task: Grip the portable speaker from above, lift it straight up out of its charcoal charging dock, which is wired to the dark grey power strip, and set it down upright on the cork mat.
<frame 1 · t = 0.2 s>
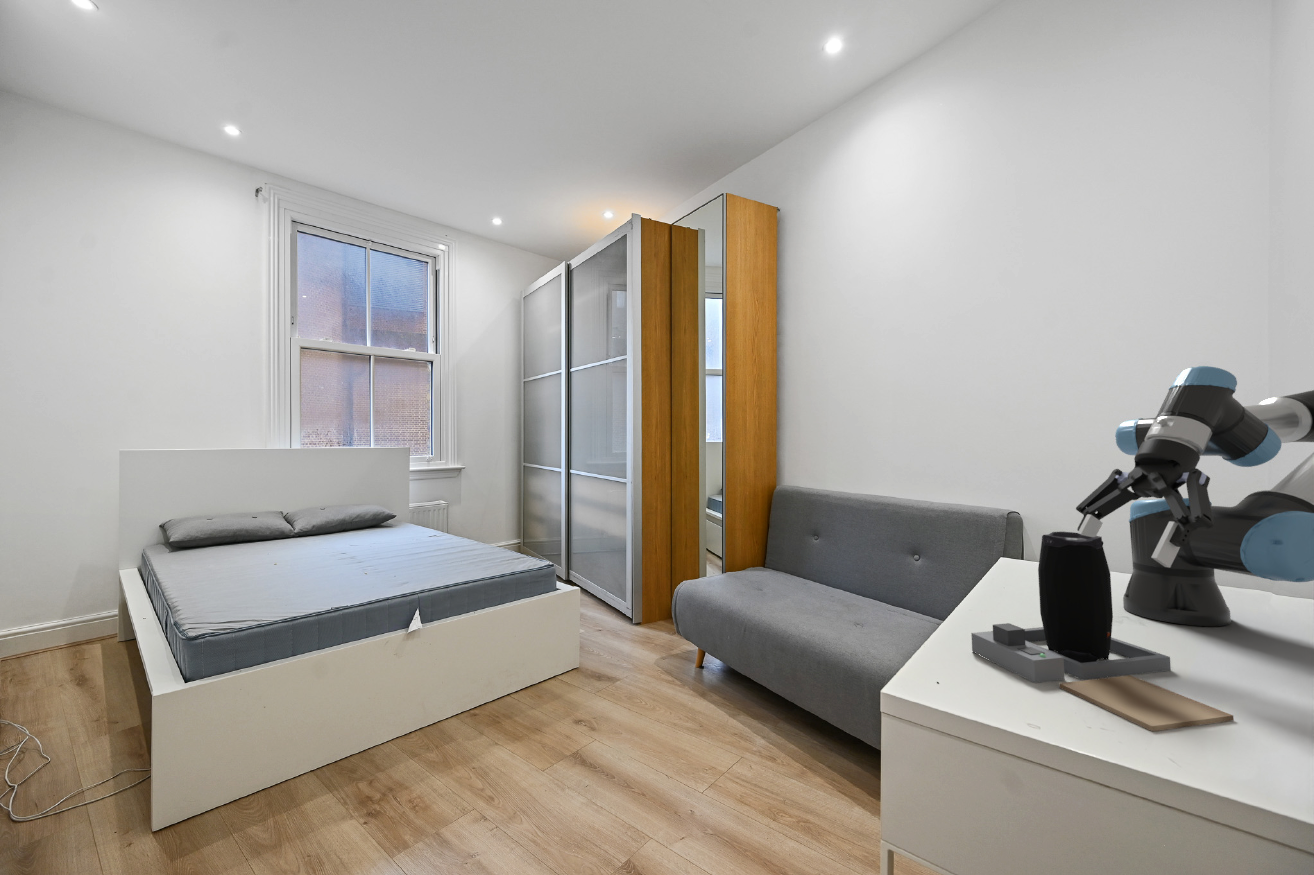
hand: (1116, 555, 87), 16 cm above the table, tool tilted 35°, fingers open, 13 cm apart
portable speaker: (1077, 657, 85), on the table
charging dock: (1077, 655, 85), on the table
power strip: (1015, 665, 82), on the table
cork mat: (1140, 702, 69), on the table
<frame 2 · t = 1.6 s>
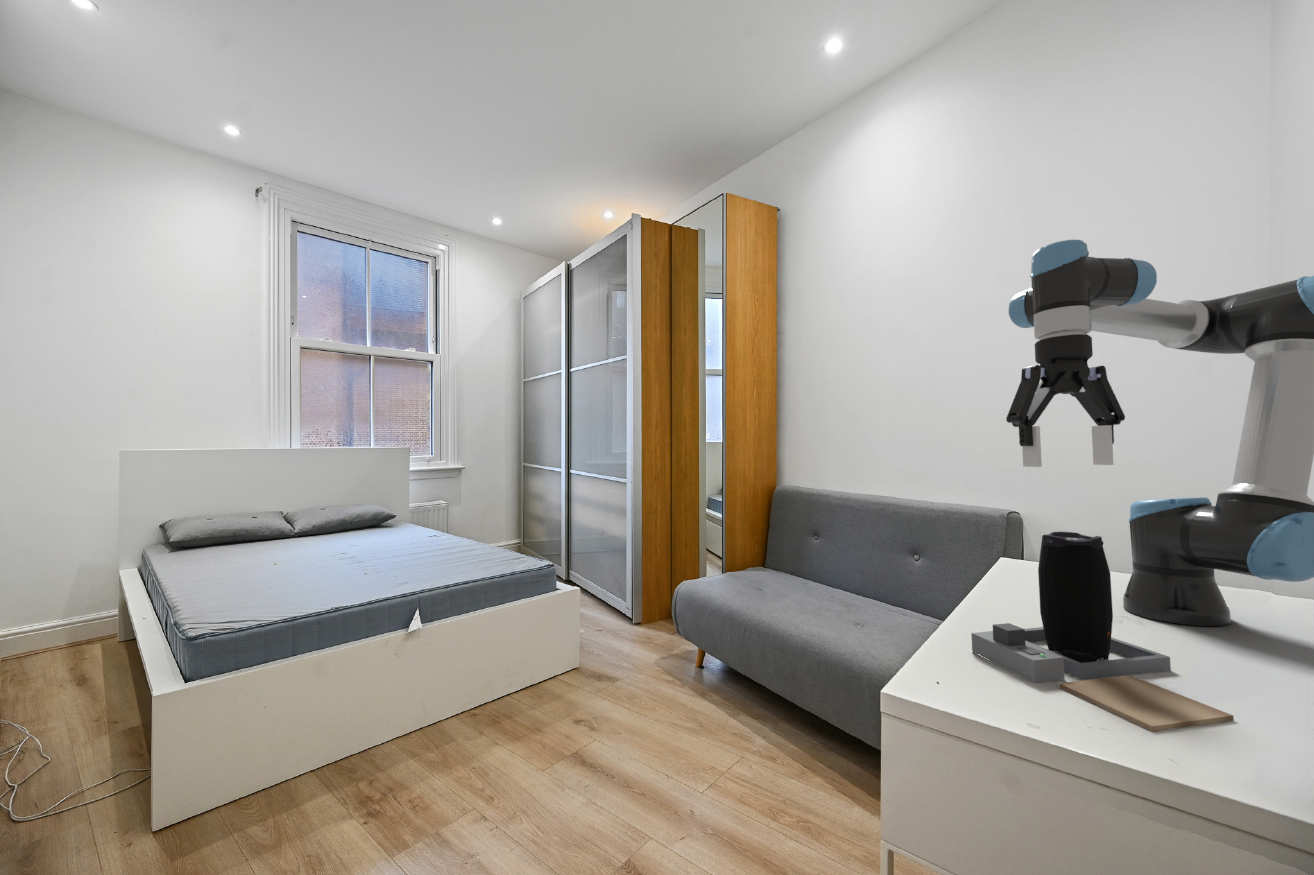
hand: (1068, 465, 86), 31 cm above the table, tool pointing down, fingers open, 13 cm apart
nothing on the table moved.
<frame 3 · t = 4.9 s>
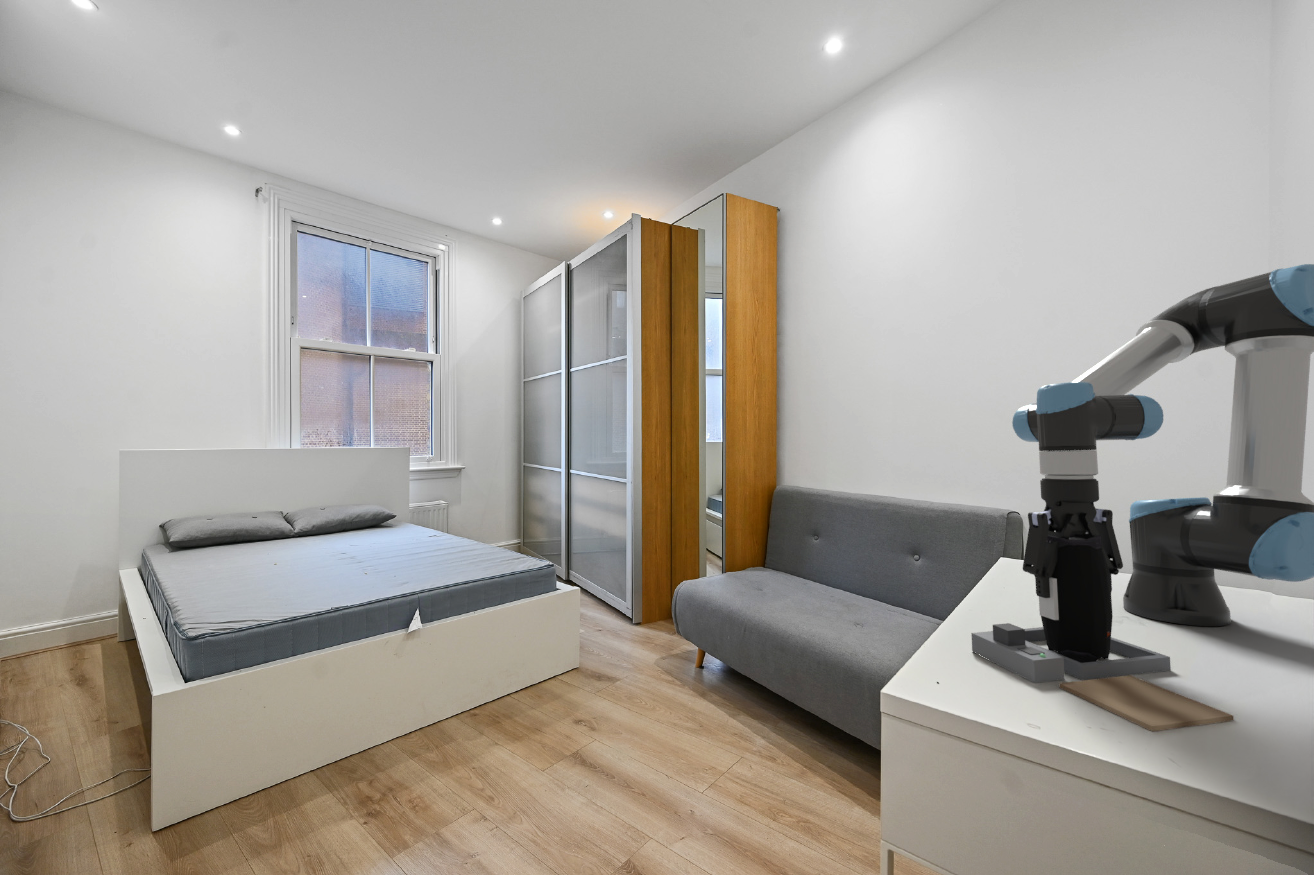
hand: (1075, 615, 85), 7 cm above the table, tool pointing down, fingers closed on portable speaker, 9 cm apart
portable speaker: (1077, 656, 85), on the table, touching gripper
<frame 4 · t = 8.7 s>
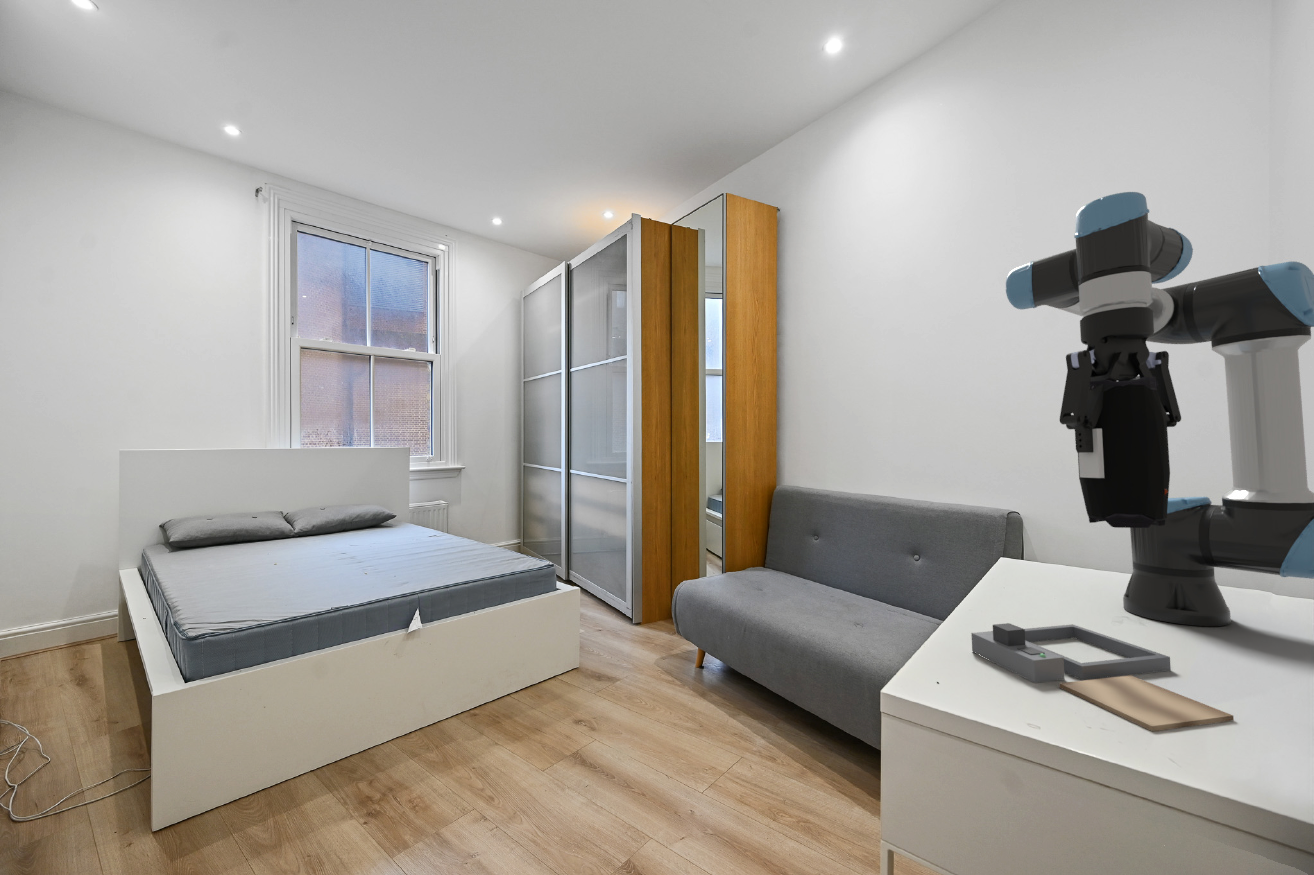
hand: (1123, 476, 71), 30 cm above the table, tool pointing down, fingers closed on portable speaker, 9 cm apart
portable speaker: (1125, 526, 71), point 23 cm above the table, touching gripper
when the fingers open (8 cm above the table, at t = 12.5 s): portable speaker drops 1 cm, resting on cork mat.
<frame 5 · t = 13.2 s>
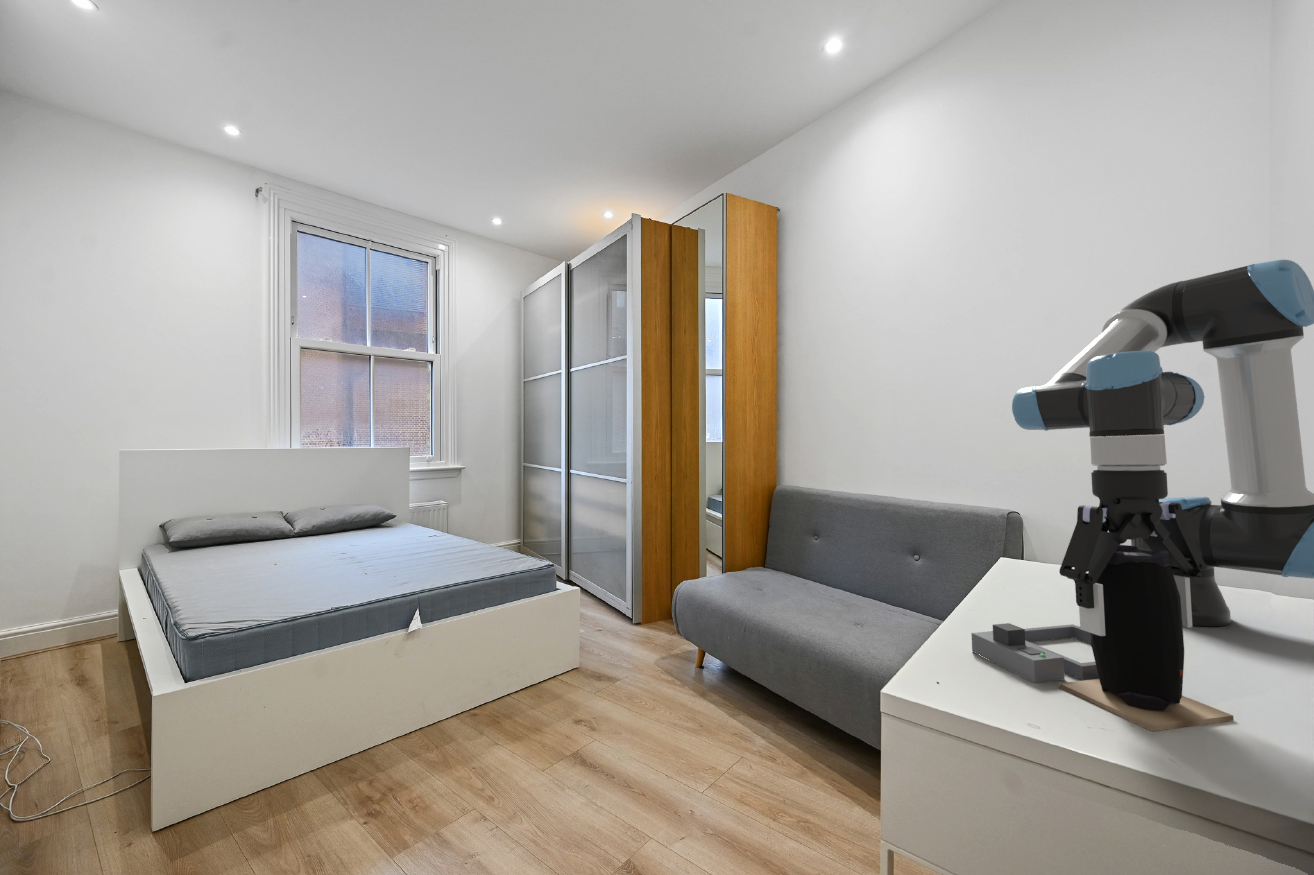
hand: (1136, 628, 69), 10 cm above the table, tool pointing down, fingers open, 13 cm apart
portable speaker: (1139, 699, 69), resting on cork mat
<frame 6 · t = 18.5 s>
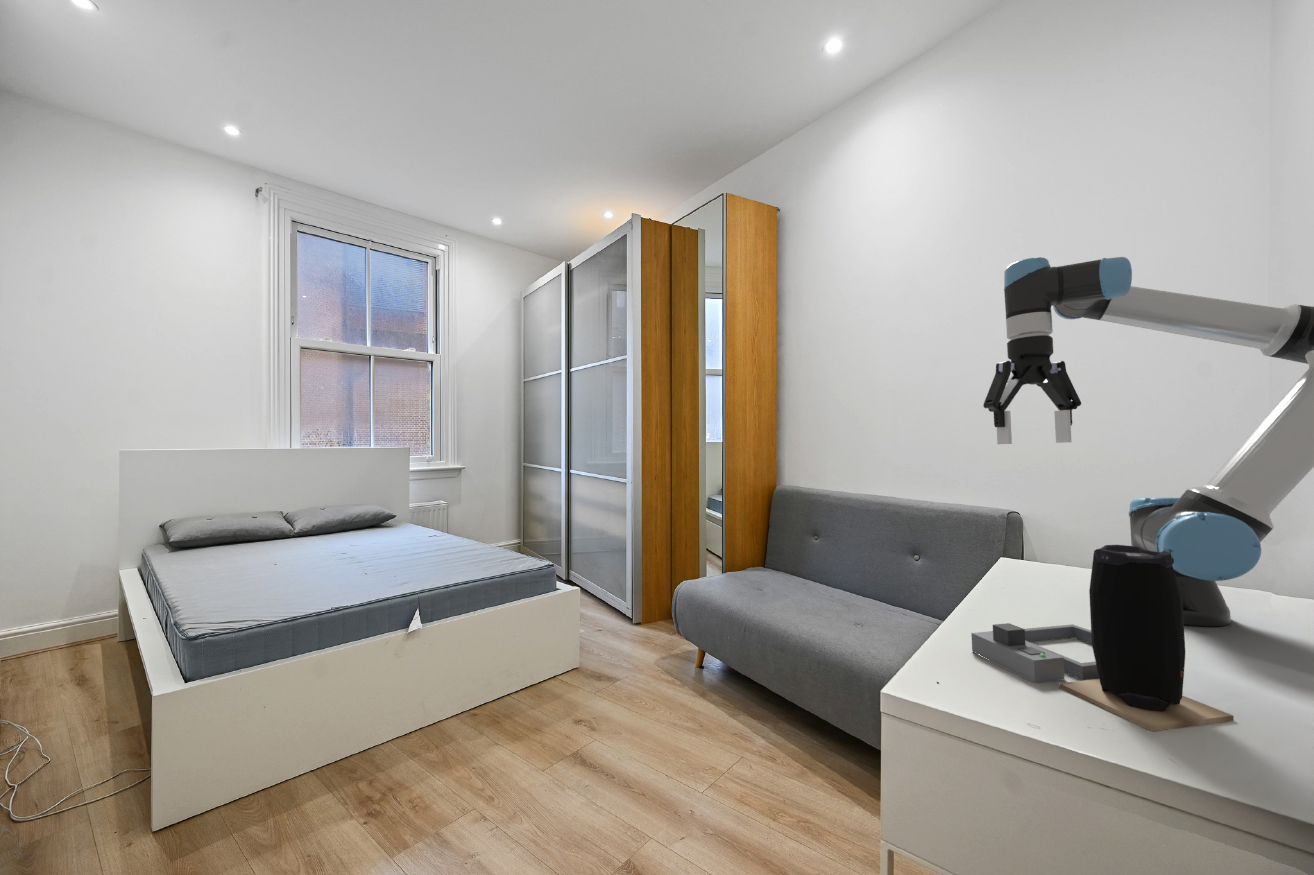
hand: (1034, 443, 105), 35 cm above the table, tool pointing down, fingers open, 13 cm apart
nothing on the table moved.
at the end: portable speaker inside the target area on the cork mat (0.1 cm from its centre), point 0.4 cm above the cork mat's base; portable speaker tilted 0°; the gripper is holding nothing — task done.
